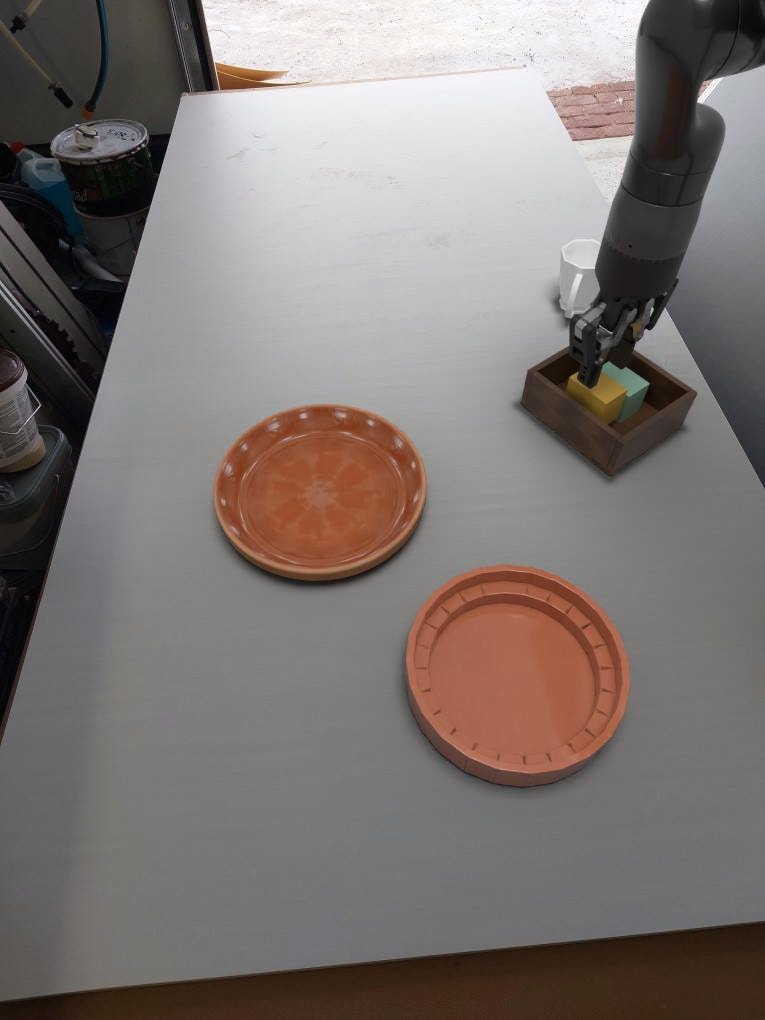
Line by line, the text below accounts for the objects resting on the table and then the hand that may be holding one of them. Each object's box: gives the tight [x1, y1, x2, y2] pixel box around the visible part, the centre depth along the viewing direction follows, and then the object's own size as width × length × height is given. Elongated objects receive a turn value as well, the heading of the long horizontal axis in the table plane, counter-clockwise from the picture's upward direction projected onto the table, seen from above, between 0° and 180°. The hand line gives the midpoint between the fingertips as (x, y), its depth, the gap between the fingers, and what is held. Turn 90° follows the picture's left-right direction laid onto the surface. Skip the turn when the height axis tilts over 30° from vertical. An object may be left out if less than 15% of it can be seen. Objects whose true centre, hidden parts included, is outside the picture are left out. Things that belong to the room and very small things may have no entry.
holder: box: [520, 326, 699, 477], centre depth 82 cm, size 15×13×6 cm
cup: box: [558, 238, 601, 319], centre depth 92 cm, size 7×10×8 cm
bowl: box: [404, 563, 631, 788], centre depth 62 cm, size 19×19×4 cm
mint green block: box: [602, 361, 650, 424], centre depth 82 cm, size 6×4×4 cm, turn 37°
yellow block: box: [565, 371, 628, 424], centre depth 79 cm, size 6×4×4 cm, turn 37°
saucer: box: [212, 403, 428, 582], centre depth 75 cm, size 23×23×4 cm
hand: (602, 373), depth 76 cm, fingers open, 4 cm apart
